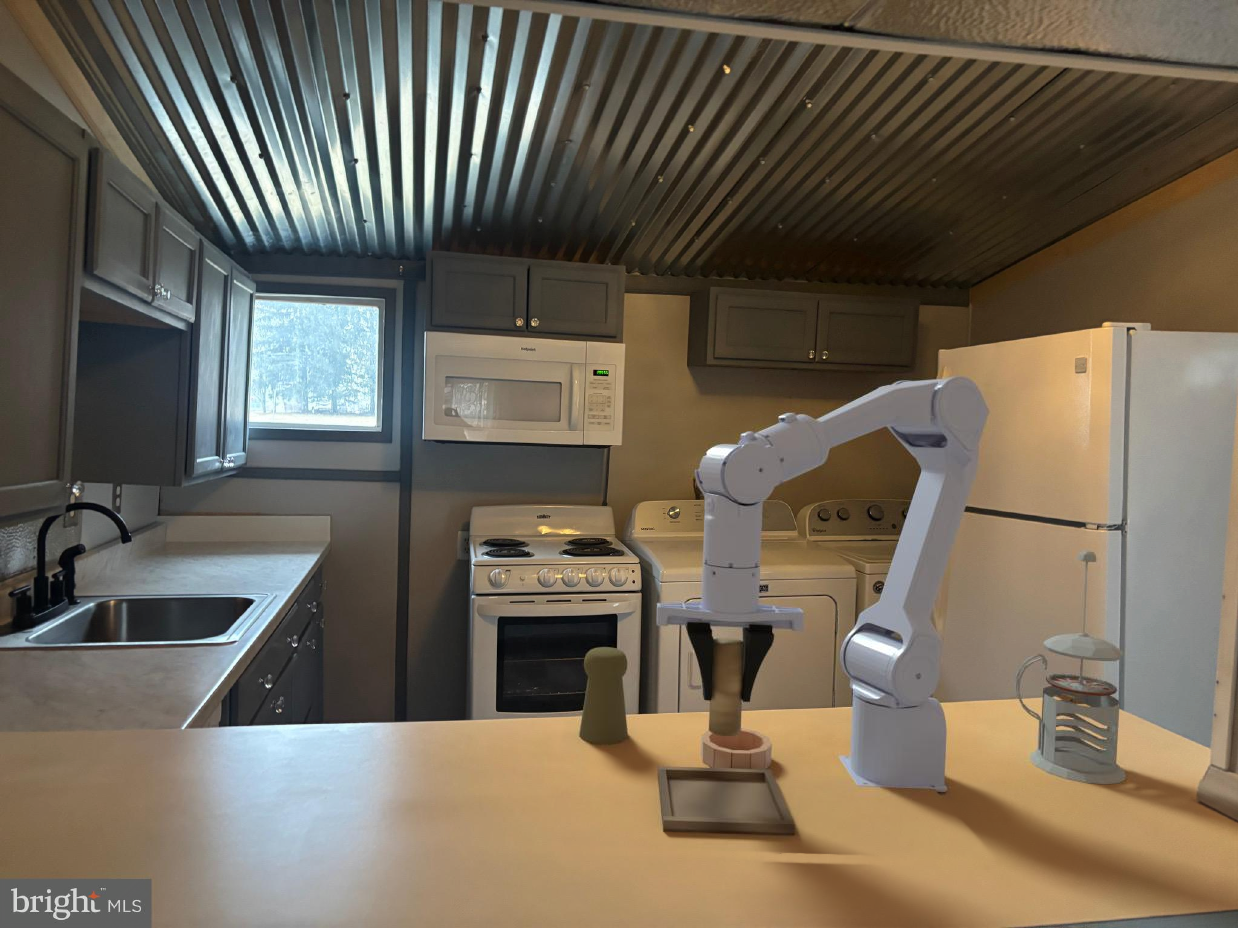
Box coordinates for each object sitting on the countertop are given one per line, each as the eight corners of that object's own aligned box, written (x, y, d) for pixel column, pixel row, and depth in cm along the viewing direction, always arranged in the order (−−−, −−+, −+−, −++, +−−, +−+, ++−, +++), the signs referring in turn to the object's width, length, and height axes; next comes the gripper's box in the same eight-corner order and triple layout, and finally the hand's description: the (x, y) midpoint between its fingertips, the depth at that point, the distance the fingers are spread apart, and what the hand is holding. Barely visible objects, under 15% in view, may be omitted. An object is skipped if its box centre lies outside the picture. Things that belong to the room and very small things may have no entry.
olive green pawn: (630, 732, 99) (633, 644, 99) (626, 751, 93) (629, 657, 93) (582, 729, 100) (584, 641, 100) (574, 747, 94) (577, 654, 94)
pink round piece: (763, 751, 94) (764, 728, 94) (775, 779, 87) (776, 754, 87) (698, 749, 94) (699, 726, 94) (705, 777, 87) (706, 751, 87)
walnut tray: (770, 784, 86) (770, 769, 86) (794, 841, 74) (794, 824, 74) (657, 780, 86) (657, 765, 86) (662, 837, 74) (663, 819, 74)
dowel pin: (738, 725, 83) (742, 638, 83) (742, 736, 80) (745, 646, 79) (707, 723, 83) (710, 637, 83) (709, 735, 80) (713, 645, 80)
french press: (1137, 790, 87) (1150, 559, 86) (1018, 772, 91) (1029, 551, 90) (1114, 756, 96) (1125, 548, 95) (1007, 742, 100) (1016, 541, 99)
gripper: (795, 560, 85) (790, 688, 85) (657, 555, 85) (653, 682, 85) (810, 571, 78) (804, 711, 78) (660, 566, 78) (655, 705, 78)
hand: (726, 698), depth 81 cm, fingers closed on dowel pin, 3 cm apart
